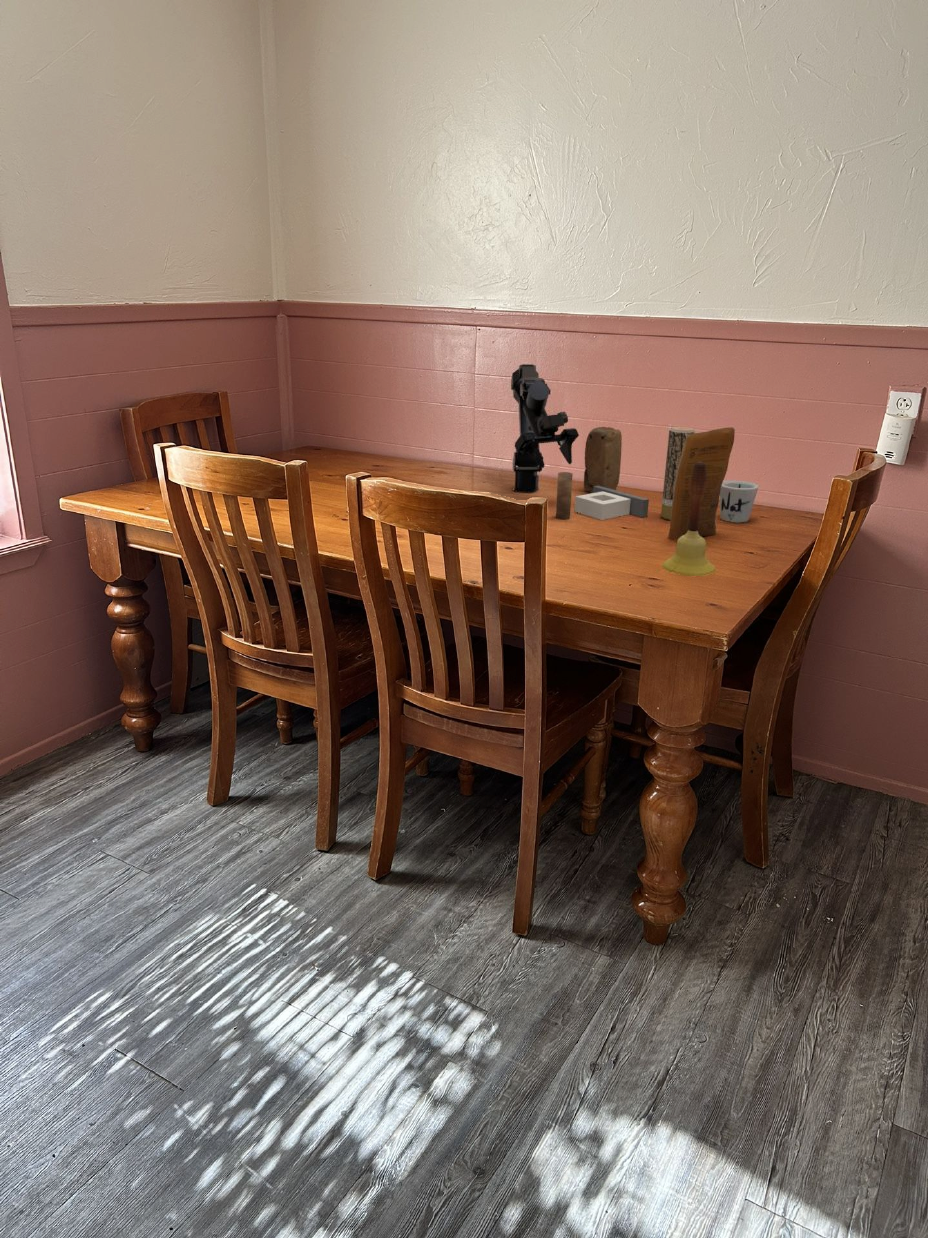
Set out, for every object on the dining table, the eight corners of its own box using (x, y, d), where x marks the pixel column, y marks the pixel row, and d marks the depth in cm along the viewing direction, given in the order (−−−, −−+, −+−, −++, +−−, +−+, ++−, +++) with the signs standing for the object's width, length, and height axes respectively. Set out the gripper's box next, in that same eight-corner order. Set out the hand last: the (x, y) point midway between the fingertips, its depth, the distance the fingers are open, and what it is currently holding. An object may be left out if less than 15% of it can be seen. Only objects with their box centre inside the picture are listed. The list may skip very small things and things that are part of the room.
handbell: (667, 576, 201) (678, 467, 192) (657, 559, 212) (668, 456, 203) (721, 577, 201) (735, 468, 191) (709, 560, 212) (721, 457, 203)
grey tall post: (685, 521, 244) (695, 431, 235) (660, 520, 245) (669, 430, 236) (684, 515, 250) (694, 427, 241) (660, 514, 252) (669, 426, 242)
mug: (711, 521, 246) (715, 485, 242) (723, 509, 258) (727, 475, 254) (749, 526, 241) (754, 490, 237) (760, 514, 253) (764, 479, 250)
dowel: (553, 518, 246) (556, 474, 241) (558, 515, 249) (560, 471, 245) (567, 520, 244) (569, 475, 240) (571, 516, 248) (574, 472, 243)
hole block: (574, 511, 253) (575, 496, 251) (601, 506, 259) (602, 491, 257) (602, 520, 245) (603, 504, 243) (629, 514, 251) (630, 498, 249)
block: (620, 494, 273) (625, 429, 266) (603, 497, 269) (608, 431, 261) (595, 487, 281) (600, 424, 274) (578, 490, 277) (582, 426, 269)
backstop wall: (592, 502, 263) (593, 486, 261) (597, 501, 264) (598, 485, 262) (642, 517, 248) (644, 500, 246) (647, 516, 249) (648, 499, 247)
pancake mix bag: (730, 534, 233) (744, 428, 223) (675, 543, 225) (686, 433, 214) (713, 528, 239) (725, 424, 228) (658, 536, 230) (668, 429, 220)
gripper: (521, 404, 242) (541, 453, 238) (577, 399, 250) (597, 446, 246) (506, 427, 251) (524, 474, 247) (560, 421, 260) (579, 467, 255)
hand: (557, 465), depth 249 cm, fingers open, 9 cm apart
